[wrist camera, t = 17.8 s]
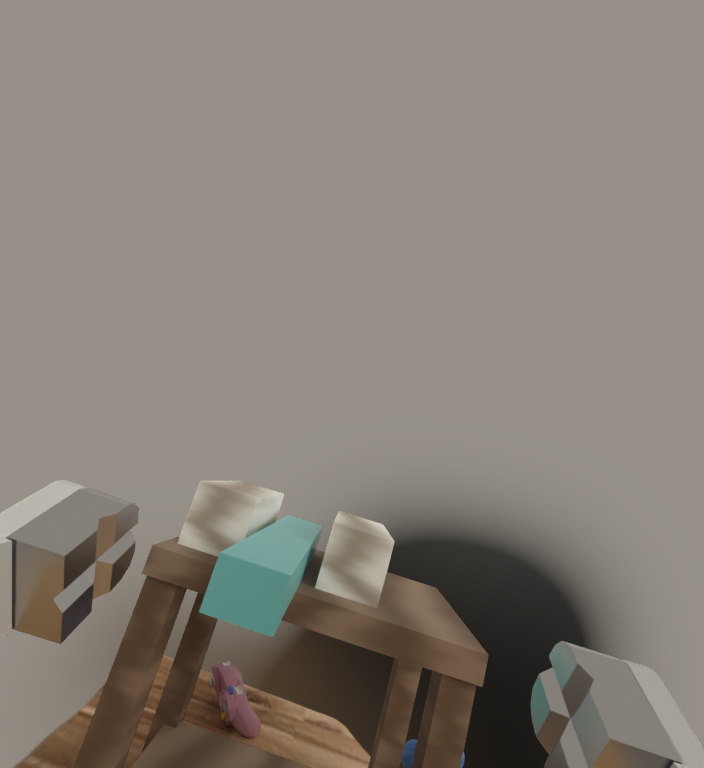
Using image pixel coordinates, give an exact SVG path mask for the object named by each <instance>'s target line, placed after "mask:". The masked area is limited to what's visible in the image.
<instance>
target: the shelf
mask: <svg viewBox="0 0 704 768" xmlns="http://www.w3.org/2000/svg"><path fill="white" fill-rule="evenodd" d="M283 497H284V494H283V493H280V492H277V491H273V490H270V489H267V488H264V487H260V486H257V485H254V484H251V483H248V482H245V481H200V483H199V486H198V489H197V491H196V494H195V497H194V499H193V502H192V505H191V508H190V510H189V513H188V516H187V518H186V521H185V524H184V526H183V529H182V532H181V534H180V537H176V538H173V539H170V540H167V541H164V542H161V543H158V544H155V545H152V548H151V551H150V553H149V556H148V559H147V561H146V564H145V566H144V569H143V571H142V574H144V575H147V577H146V579H145V582H144V585H143V587H142V590H141V593H140V595H139V598H138V600H137V603H136V606H135V608H134V611H133V613H132V617H131V619H130V621H129V624H128V627H127V629H126V632H125V635H124V637H123V640H122V643H121V645H120V648H119V650H118V653H117V655H116V658H115V661H114V663H113V666H112V669H111V671H110V674H109V676H108V679H107V682H106V684H105V687H104V689H103V692H102V695H101V697H100V700H99V703H98V705H97V708H96V710H95V713H94V716H93V718H92V721H91V724H90V726H89V729H88V731H87V734H86V737H85V739H84V742H83V745H82V747H81V750H80V752H79V755H78V758H77V760H76V763H75V765H74V768H123V765H124V763H125V760H126V757H127V754H128V751H129V749H130V746H131V743H132V740H133V738H134V735H135V732H136V729H137V726H138V724H139V721H140V718H141V715H142V712H143V710H144V707H145V704H146V701H147V698H148V696H149V693H150V690H151V687H152V684H153V682H154V679H155V676H156V673H157V671H158V668H159V665H160V662H161V659H162V657H163V654H164V651H165V648H166V645H167V642H168V640H169V637H170V634H171V631H172V629H173V626H174V623H175V620H176V617H177V615H178V612H179V609H180V606H181V603H182V601H183V598H184V595H185V592H186V590H187V589H190V590H193V591H196V592H198V594H197V597H196V600H195V603H194V606H193V608H192V612H191V614H190V617H189V620H188V623H187V625H186V628H185V631H184V634H183V637H182V640H181V642H180V646H179V648H178V651H177V654H176V657H175V660H174V662H173V665H172V668H171V671H170V674H169V677H168V679H167V682H166V685H165V688H164V691H163V694H162V696H161V699H160V702H159V705H158V708H157V711H156V714H155V716H154V719H153V722H152V725H151V728H150V731H149V733H148V736H147V739H146V742H145V745H144V748H143V751H142V753H141V755H140V756H139V758H138V759H137V760H136V761H135V763H134V764H133V765H132V767H131V768H311V767H308V766H306V765H303V764H300V763H297V762H294V761H292V760H289V759H286V758H283V757H280V756H278V755H275V754H272V753H269V752H266V751H263V750H261V749H258V748H255V747H252V746H249V745H247V744H244V743H241V742H238V741H235V740H233V739H230V738H227V737H224V736H221V735H219V734H216V733H213V732H210V731H207V730H205V729H202V728H199V727H196V726H193V725H191V724H188V723H185V722H183V720H184V717H185V714H186V711H187V708H188V705H189V702H190V700H191V697H192V694H193V691H194V688H195V685H196V682H197V679H198V676H199V673H200V670H201V666H202V664H203V661H204V658H205V655H206V652H207V649H208V646H209V643H210V640H211V637H212V634H213V631H214V628H215V625H216V622H217V618H214V617H211V616H208V615H205V614H202V613H199V610H200V607H201V605H202V602H203V599H204V596H205V593H206V590H207V587H208V584H209V582H210V579H211V576H212V573H213V570H214V567H215V564H216V561H217V559H218V556H219V553H220V552H221V551H223V550H225V549H227V548H229V547H231V546H232V545H234V544H236V543H238V542H240V541H242V540H244V539H245V538H247V537H249V536H251V535H253V534H255V533H256V532H258V531H260V530H262V529H264V528H266V527H268V526H269V525H271V524H273V523H275V522H276V519H277V515H278V512H279V509H280V506H281V503H282V500H283ZM393 545H394V540H393V539H392V537H391V536H390V534H389V533H388V531H387V530H386V528H385V527H384V526H383V525H382V524H380V523H377V522H373V521H370V520H367V519H364V518H361V517H357V516H354V515H351V514H348V513H344V512H341V511H339V513H338V515H337V517H336V519H335V521H334V524H333V528H332V531H331V534H330V538H329V542H328V545H327V548H326V552H322V551H318V550H316V552H315V555H314V557H313V559H312V561H311V563H310V565H309V567H308V568H307V570H306V572H305V574H304V576H303V578H302V580H301V582H300V584H299V586H298V588H297V590H296V592H295V594H294V596H293V598H292V600H291V602H290V604H289V606H288V608H287V610H286V612H285V614H284V616H283V617H282V619H281V620H283V621H286V622H289V623H292V624H295V625H298V626H301V627H304V628H307V629H310V630H313V631H316V632H319V633H322V634H325V635H328V636H331V637H334V638H337V639H340V640H343V641H346V642H349V643H352V644H355V645H358V646H361V647H364V648H367V649H370V650H373V651H376V652H379V653H382V654H385V655H388V656H391V657H394V658H395V659H394V663H393V668H392V672H391V676H390V680H389V684H388V688H387V692H386V697H385V701H384V705H383V709H382V713H381V717H380V722H379V726H378V730H377V734H376V738H375V742H374V746H373V751H372V755H371V759H370V763H369V767H368V768H399V767H400V762H401V758H402V753H403V749H404V744H405V740H406V735H407V730H408V727H409V722H410V718H411V714H412V709H413V704H414V700H415V696H416V691H417V687H418V682H419V678H420V674H421V669H422V667H424V668H427V669H430V670H433V672H432V677H431V681H430V686H429V690H428V695H427V699H426V704H425V708H424V713H423V717H422V722H421V727H420V731H419V735H418V740H417V744H416V749H415V753H414V758H413V763H412V767H411V768H460V765H461V760H462V755H463V750H464V745H465V740H466V735H467V730H468V725H469V720H470V715H471V709H472V704H473V699H474V695H475V689H476V685H478V686H483V681H484V675H485V671H486V666H487V660H488V654H487V653H486V651H485V650H484V649H483V647H482V646H481V645H480V643H479V642H478V641H477V640H476V638H475V637H474V636H473V635H472V633H471V632H470V631H469V629H468V628H467V627H466V625H465V624H464V623H463V622H462V620H461V619H460V618H459V616H458V615H457V614H456V613H455V611H454V610H453V609H452V608H451V606H450V605H449V604H448V602H447V601H446V600H445V599H444V597H443V596H442V595H441V593H440V592H439V591H438V590H437V588H435V587H432V586H428V585H425V584H422V583H419V582H416V581H413V580H410V579H406V578H403V577H400V576H397V575H394V574H391V573H387V569H388V565H389V561H390V557H391V553H392V549H393Z"/></svg>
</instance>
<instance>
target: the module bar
mask: <svg viewBox="0 0 704 768" xmlns="http://www.w3.org/2000/svg"><path fill="white" fill-rule="evenodd" d="M322 528H323V526H322V525H319V524H315V523H312V522H309V521H306V520H303V519H299V518H297V517H293V516H290V515H288V516H286V517H284V518H282V519H280V520H279V521H277V522H275V523H273V524H271V525H269V526H268V527H266V528H264V529H262V530H260V531H258V532H256V533H255V534H253V535H251V536H249V537H247V538H245V539H244V540H242V541H240V542H238V543H236V544H234V545H232V546H231V547H229V548H227V549H225V550H223V551H221V552H220V553H219V556H218V559H217V561H216V564H215V567H214V570H213V573H212V576H211V579H210V582H209V584H208V587H207V590H206V593H205V596H204V599H203V602H202V605H201V607H200V610H199V613H202V614H205V615H208V616H211V617H214V618H217V619H220V620H223V621H227V622H229V623H232V624H235V625H238V626H241V627H244V628H247V629H250V630H253V631H256V632H259V633H262V634H265V635H268V636H271V637H273V635H274V633H275V631H276V629H277V627H278V625H279V623H280V621H281V619H282V617H283V616H284V614H285V612H286V610H287V608H288V606H289V604H290V602H291V600H292V598H293V596H294V594H295V592H296V590H297V588H298V586H299V584H300V582H301V580H302V578H303V576H304V574H305V572H306V570H307V568H308V567H309V565H310V563H311V561H312V559H313V557H314V555H315V552H316V549H317V545H318V542H319V539H320V535H321V532H322Z"/></svg>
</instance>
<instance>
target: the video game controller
mask: <svg viewBox="0 0 704 768" xmlns="http://www.w3.org/2000/svg"><path fill="white" fill-rule="evenodd" d="M212 673H213V676H212V679H211V677H210V678H209V684H210V686H211V687H212V684H213V685H214V686H215V688H216V692H217V697H218V703H219V707H220V709H221V711H222V710H223V714H222V720H223V721H224V720H225V723H226V726H229V725H231V724H232V725H233V726H234V727H235V728H236V729H237V731H238V732H240V733H241V734H242V735H243V736H246V737H249V738H251V737H255V736H256V735H257V734H258V733H259V731H260V727H261V724H260V720H259V718H258V716H257V715H256V713H255V712H254V711H253V709H252V708H251V706H250V704H249V702H248V699H247V696H246V692H245V689H244V686H243V684H242V675H241V673H240V672H239V670H238V669H237V668H235V667H233V666H232V665H231V664H230V661H228V662H227V663H220V664H218V665H215V666H213V667H212Z"/></svg>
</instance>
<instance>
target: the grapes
mask: <svg viewBox="0 0 704 768" xmlns="http://www.w3.org/2000/svg"><path fill="white" fill-rule="evenodd" d="M416 744H417V740H413V739H412V740H410V741H408V742H406V744H405V745H404V749H403V753H402V763H403V765H404V767H405V768H411V767H412V763H413V758H414V753H415V749H416ZM463 764H464V752H463V755H462V760H461V765H460V768H462V766H463Z"/></svg>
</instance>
